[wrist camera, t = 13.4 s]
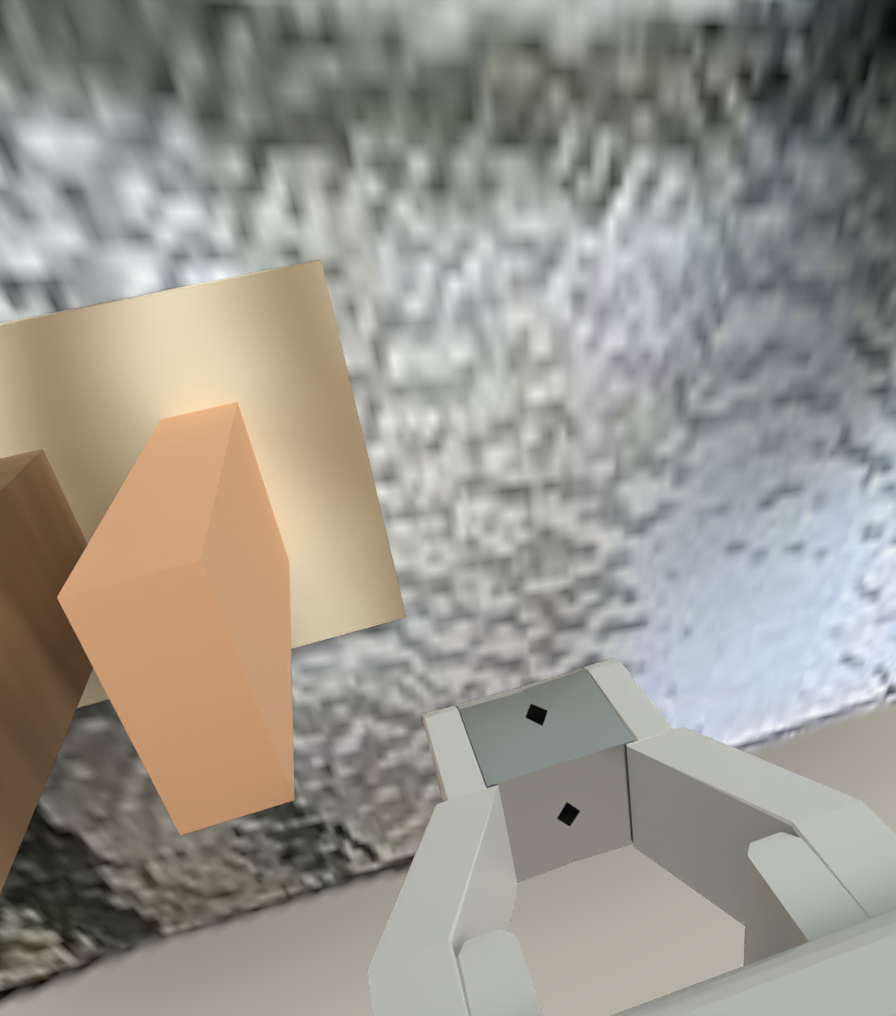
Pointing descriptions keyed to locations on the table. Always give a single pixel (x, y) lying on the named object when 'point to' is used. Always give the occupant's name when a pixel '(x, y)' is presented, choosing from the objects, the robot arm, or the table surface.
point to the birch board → (205, 384)
